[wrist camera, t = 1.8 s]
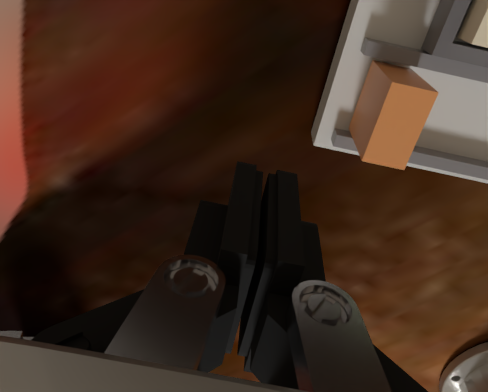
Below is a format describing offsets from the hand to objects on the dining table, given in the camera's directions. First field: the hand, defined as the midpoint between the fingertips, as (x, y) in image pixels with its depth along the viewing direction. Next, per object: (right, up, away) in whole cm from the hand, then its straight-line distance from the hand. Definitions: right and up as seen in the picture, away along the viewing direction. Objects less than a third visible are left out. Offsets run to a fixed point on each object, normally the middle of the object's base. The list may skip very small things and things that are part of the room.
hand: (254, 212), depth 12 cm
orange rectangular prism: (+8, +7, +14) cm, 18 cm away
